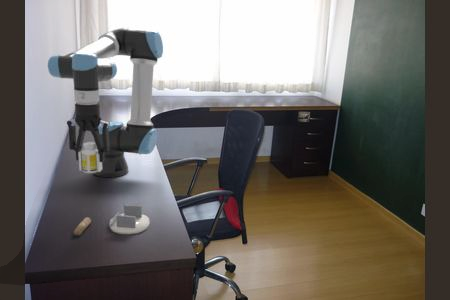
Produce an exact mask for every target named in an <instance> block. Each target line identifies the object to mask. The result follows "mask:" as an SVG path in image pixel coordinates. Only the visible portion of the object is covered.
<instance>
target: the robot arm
mask: <svg viewBox="0 0 450 300" xmlns="http://www.w3.org/2000/svg"><path fill="white" fill-rule="evenodd" d="M163 54H164V44H163V40H162V36H161V34H160V33H159V32H158V30H155V29H152V28H151V29H148V28H130V27H122V28H116V29H113V30H110V31H108V32H105V33H103V34H101V35H100V36H99V37H98V39H97V40H95V41H93V42H91V43H88V44H87V45H85V46H83V47H80V48H77V49H76V50H74V51H72V52H70V53H68V54H66V55H52V56H50V58H48V61H47V69H48V73H49V74H50V75H51V77H54V78H58V79H59V78H60V79H70V80H73V92H74V96H73V97H74V102H75V104H74V111H75V118H74V119H68V120H67V121H66V125H67V127H68V140H69V142H68V143H69V144H68V146H69V150H71V151H74V152H75V160H76V161H78V168H79V169H78V170H79V171H80V172H81V171H82V172H83V168H82V153H81V152H82V150H83V148H82V147H83V143H84V139H85V136H86V132H87V131H88V132H90V133H91V135H92V136H93V141H94V142H95V143H96V149H97V150H98V153H96V157H97V172H95V173H94V175H96V176H98V177H102V178H116V177H122V176H125V175H127V174H128V173H129V165H128V163H127V159H126V157H125V153H127V154H128V153H130V154H138V155H150V154H152V153H153V151H154V150H155V147H156V145H157V143H158V141H157V140H158V130H157V129H156V128H154V124H153V122H152V120H151V114H152V97H153V81H154V80H153V79H154V67H155V65H157V64H158V59H161V58H162V57H163ZM115 56H127V57H129V60H130V62H131V63H132V65H133V66H132V67H133V69H132V87H131V103H130V118H129V120H128V121H126V125H125V124H124V122H123V121H119V120H118V121H104V120H102V118H101V108H100V103H99V102H100V90H99V89H100V88H99V85H100V84H99V83H100V82H104V81H105V82H107V81H110V80H112V79H113V78H114V77H116V75H117V72H118V68H117V64H116V63H115V61H114V60H112V59H111V58H113V57H115ZM76 125H77V126H78V127H79V129H78V135H77V132H76V131H77V130H76V129H77V127H76Z"/></svg>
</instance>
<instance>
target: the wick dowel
mask: <svg viewBox="0 0 450 300" xmlns="http://www.w3.org/2000/svg"><path fill="white" fill-rule="evenodd" d="M91 223H92V219H91V218H90V217H88V216H87V217H84V218H83V220H81V222H80V223H79V224H78V225H77V226H76V227H75V229H74V230H73V234H74V235H75V236H81V235H82V234H83V232H84V231H85V230H86V229H87V228H88V226H89V225H90V224H91Z"/></svg>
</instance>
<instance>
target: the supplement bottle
mask: <svg viewBox="0 0 450 300" xmlns="http://www.w3.org/2000/svg"><path fill="white" fill-rule="evenodd" d="M82 147H83V148H82V149H81V150H82V152H81V153H82V168H83V170H82V172H84V174H95V172H97V157H96V153H98V150H97V146H96V143H95V141H87V142H83V144H82Z"/></svg>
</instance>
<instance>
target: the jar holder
mask: <svg viewBox="0 0 450 300" xmlns="http://www.w3.org/2000/svg"><path fill="white" fill-rule="evenodd" d="M108 227H109V229H110V230H111V232H113V233H115V234H119V235H135V234H140V233H143V232H144V231H146V230H147V229H148V228H149V227H150V218H149V217H148V216H147V215H145V214H143V205H135V204H124V205H123V213H120V212H116V214H115V215H114V216H113V217H112V218H111V219H110V220H109V224H108Z"/></svg>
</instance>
